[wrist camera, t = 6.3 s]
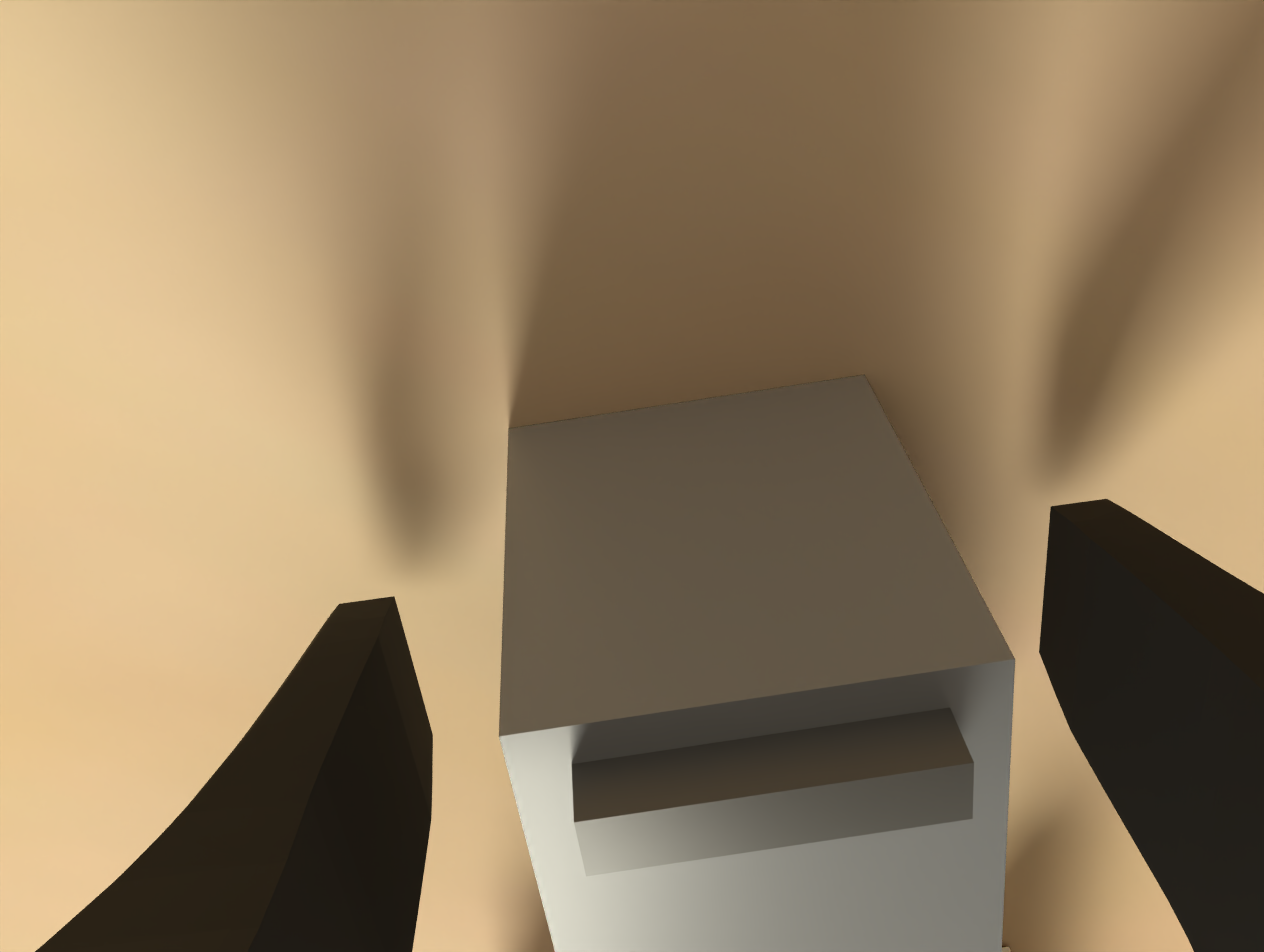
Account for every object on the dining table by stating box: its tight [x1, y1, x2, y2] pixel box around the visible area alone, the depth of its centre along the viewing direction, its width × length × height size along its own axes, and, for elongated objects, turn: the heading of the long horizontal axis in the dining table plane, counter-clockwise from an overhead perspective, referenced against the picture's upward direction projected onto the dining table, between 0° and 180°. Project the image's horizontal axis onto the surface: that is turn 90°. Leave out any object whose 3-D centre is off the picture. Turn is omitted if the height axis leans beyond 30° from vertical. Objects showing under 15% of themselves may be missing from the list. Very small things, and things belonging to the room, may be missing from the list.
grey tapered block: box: [499, 375, 1015, 952], centre depth 13 cm, size 4×8×6 cm, turn 7°
